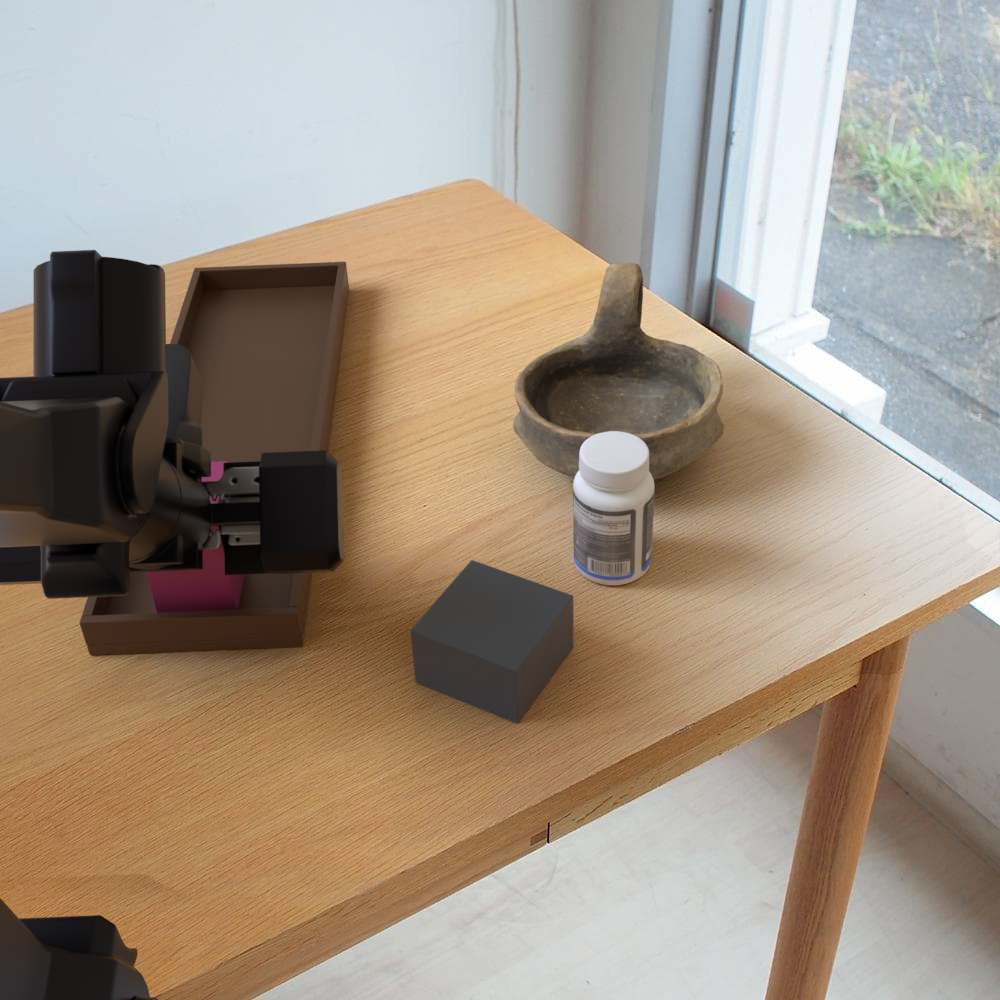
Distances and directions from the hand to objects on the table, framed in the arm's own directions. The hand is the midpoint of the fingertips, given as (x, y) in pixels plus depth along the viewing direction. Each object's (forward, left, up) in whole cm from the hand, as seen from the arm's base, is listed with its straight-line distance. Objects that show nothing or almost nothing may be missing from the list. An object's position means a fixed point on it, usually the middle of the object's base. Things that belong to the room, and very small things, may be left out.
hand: (198, 533), depth 77 cm
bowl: (+26, -13, -5) cm, 29 cm away
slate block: (+4, -18, -4) cm, 19 cm away
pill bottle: (+15, -19, -5) cm, 25 cm away
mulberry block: (-1, -1, -3) cm, 3 cm away
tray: (+12, +9, -4) cm, 16 cm away
